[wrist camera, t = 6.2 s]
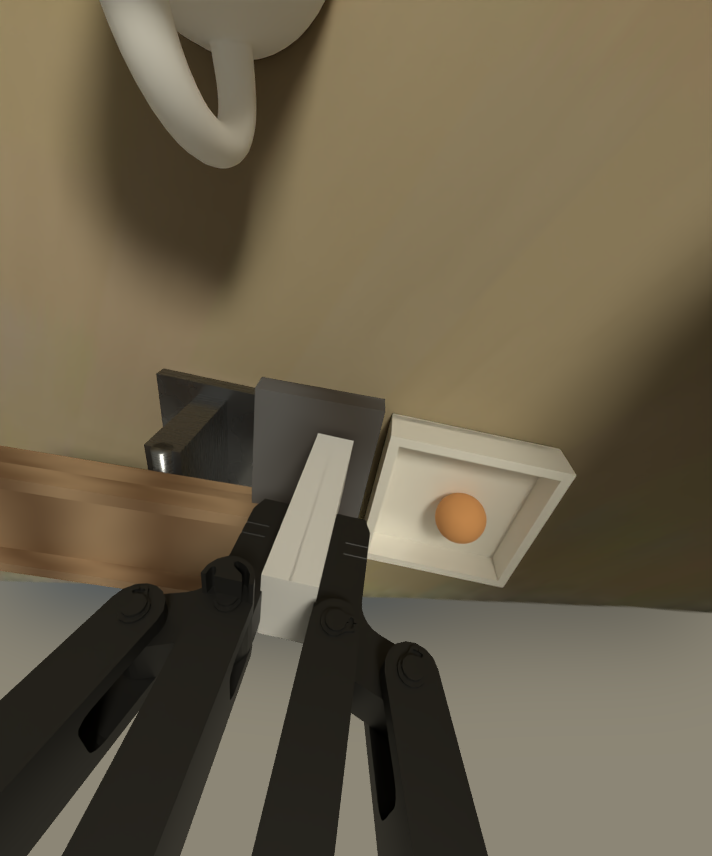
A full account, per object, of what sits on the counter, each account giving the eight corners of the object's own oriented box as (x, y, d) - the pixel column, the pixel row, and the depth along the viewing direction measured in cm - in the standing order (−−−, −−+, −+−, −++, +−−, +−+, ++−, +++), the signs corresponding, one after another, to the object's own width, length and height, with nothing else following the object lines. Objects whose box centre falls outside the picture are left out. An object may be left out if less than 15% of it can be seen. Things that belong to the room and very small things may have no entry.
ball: (482, 556, 23) (468, 518, 26) (502, 522, 22) (484, 485, 24) (434, 552, 23) (424, 514, 26) (450, 516, 21) (438, 480, 24)
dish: (361, 529, 28) (357, 556, 26) (392, 413, 23) (391, 435, 21) (495, 557, 28) (502, 587, 26) (559, 448, 23) (576, 475, 20)
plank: (-11, 535, 21) (-62, 581, 18) (-135, 305, 14) (-245, 328, 11) (337, 588, 22) (332, 638, 19) (384, 398, 15) (386, 439, 12)
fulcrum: (177, 486, 28) (118, 560, 22) (163, 368, 23) (81, 425, 17) (265, 505, 28) (229, 584, 22) (272, 391, 23) (227, 456, 17)
